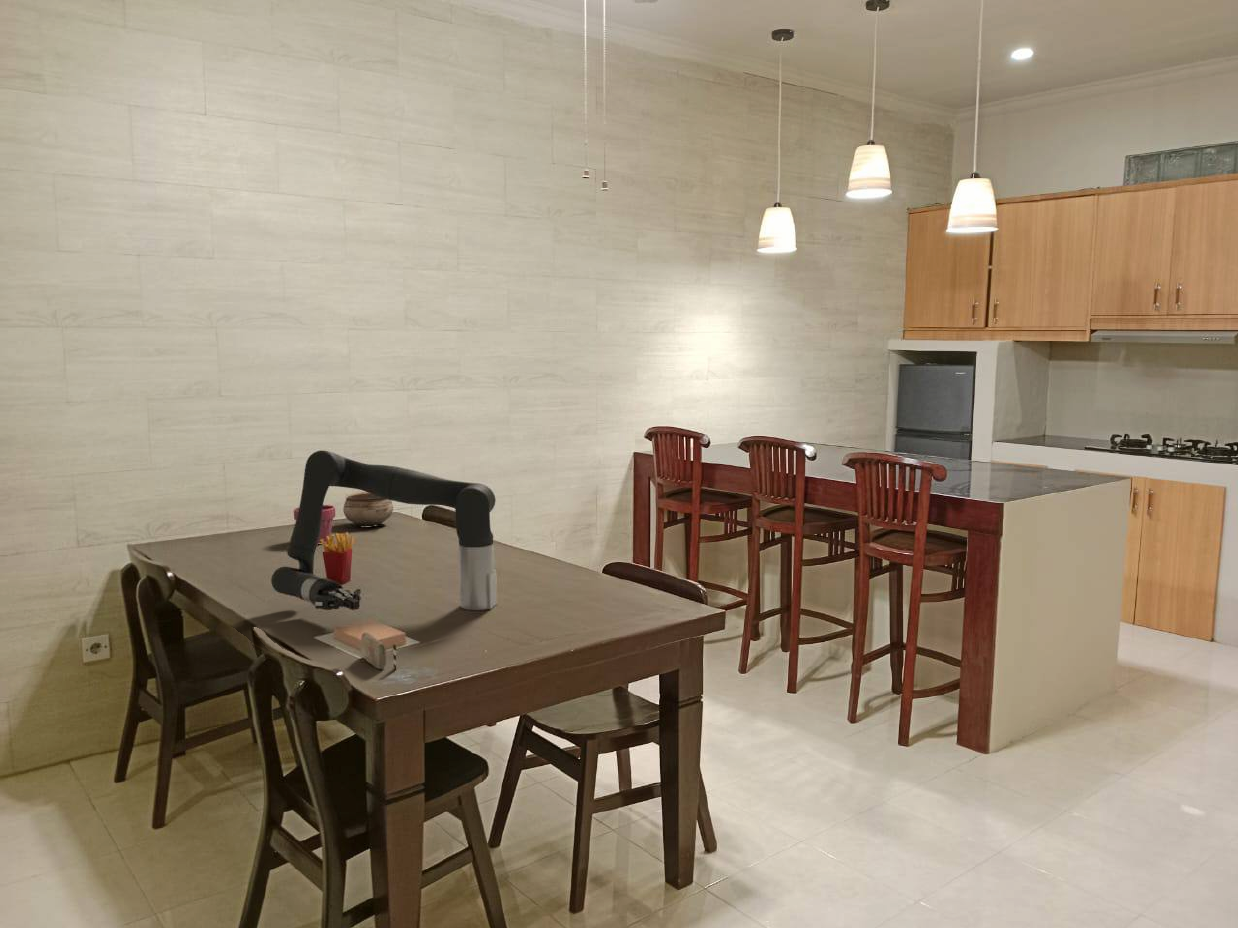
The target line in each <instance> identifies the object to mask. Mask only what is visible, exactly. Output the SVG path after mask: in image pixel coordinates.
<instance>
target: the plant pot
mask: <svg viewBox="0 0 1238 928" xmlns="http://www.w3.org/2000/svg"><path fill="white" fill-rule="evenodd" d="M298 511H299V506H298V507H295V508H294V509H293V518H294V520H295V521H296V519H297V515H298ZM335 517H336V506H334V505H332V504H331V505H330V504H329V505H328V504H323V508H322V524H321V532H320V537H319V541H318V543H321V541H320V539H323V540H324V541H325V542H327V539H326V536H329V538H330V539H331V536H332V535H331V534H332V528H333V520H334V519H335Z"/></svg>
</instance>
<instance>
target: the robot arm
mask: <svg viewBox="0 0 1238 928" xmlns="http://www.w3.org/2000/svg"><path fill="white" fill-rule="evenodd" d="M304 467H305V468H304V474H303V483H302V490H301V495H300V496H301V497H300V502H299V505H298V507H299V511H298V515H297V519H296V520H295V522H294V523H295V524H294V526H293V530H292V532H291V533H292V534H291V536H290V539H289V543H288V547H287V550H286V552H287V553H286V554H287V556H288V557H289V558H291V559H293V560H296V561H298V564H299V565H298V568H297V567H291V566H280V567H278V568H277V569H276V570H275V571H274V572H273V574H272V575H271V578H270V579H271V580H270V581H271V586H272V588H273V590H274V591H276V592H277V593H279V594H282V595H286V596H291V597H296V598H298V599H300V600H302V601H305V602H307V603H308V604H310V605H312V606H315V607H314V608H315V609H317V610H318V609H320V610H321V609H322V610H324V611H331V610H338V609H340V608H341V609H349V610H352V611H356V610H359V609H360V607H361V606H360V602H361V600H362V589H361V588H356V589H355V590H353V592H351V591H350V590H348V589H344V588H343V586H342V585H340V584H339V583H338V582H336V581H333V580H330V579H328V578H327V577H326V576H325V577H324V576H320V575H319V576H318V575H316V574H314V566H315V565H314V564H315V561H314V560H315V553H316V551H317V547H318V545H317V544H318V541H319V537H320V532H321V524H322V508H323V505H324V501H325V498H326V495H327V492H328V490H329V487H339V488H349V489H354V490H359V491H362V492H368V493H371V494H373V495H376V496H378V497H382V498H385V499H388V500H391V501H393V502H397V503H402V504H407V505H408V504H409V505H419V506H420V505H422V506H423V505H424V506H429V505H430V506H442V507H448V508H453V509H454V510H455V511H454V512H455V528H456V535H457V538H458V554H459V555H458V556H459V557H458V559H459V560H458V561H459V588H460V591H459V593H460V595H459V596H460V608H462V609H463V610H468V611H483V610H484V611H485V610H492V609H493V608H494V607H495V606H496V605H497V604H498V587H497V586H498V585H497V584H498V583H497V574H498V573H497V569H495V558H494V557H495V556H494V552H495V551H494V533H493V532H492V530H491V519H490V512H492V511H493V509H494V508H495V506H496V502H497V501H496V495H495V493H494V491H493V490H492V489H491V488H490V487H488V486H487V485H486V484H483V483H478V482H477V483H476V482H466V481H458V480H451V479H445V478H443V477H439V476H437V475H436V476H435V475H433V474H430V473H429V474H428V473H424V472H421V471H419V470H418V471H417V470H413V469H410V468H405V467H400V466H394V465H385V464H384V465H383V464H370V463H369V464H368V463H364V462H361V461H356V460H353V459H350V458H347V457H344V456H342V455H340V454H338V453H335V452H331V451H328V450H317V451H314V452H312V453H311V454H310V455H309V457H308V459H306V463H305V466H304Z"/></svg>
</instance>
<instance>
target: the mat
mask: <svg viewBox="0 0 1238 928" xmlns="http://www.w3.org/2000/svg"><path fill="white" fill-rule="evenodd" d="M313 638H314V639H316V640H318V641H320V642H322V643H325V644H327V645H328V646H329V645H330V646H331V647H333V648H336V649H338V650H340V651H342V652H345V653H346V654H349V655H351V656H353V657H356V658H358V659H364V658H363V657H362V655H361V652H360V649H358V648H355V647H353V646H351V645H349V644H346V643H344V642H342V641H340V640H337V639H335V638H334V632H331V633H327V634H322V635H318V636H313ZM419 643H421V642H420V641H418V640H416V639H413V638H410V637H408V636H406V643H405V644H401V645H397V646H396V650H398V649H401V648H405V647H409V646H412V645H416V644H419ZM385 650H386V652H390V651H391V652H392V651H393V647H390V648H386V649H385Z"/></svg>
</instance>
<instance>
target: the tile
mask: <svg viewBox="0 0 1238 928" xmlns="http://www.w3.org/2000/svg"><path fill="white" fill-rule="evenodd" d="M333 633H334V638H335V639H337V640H340V641H342V642H344V643H346V644H349V645H351V646H353V647H355V648H358V649H361V638H362V634H363V633H369V634H370V635H372V636H373V637H374V638H376V639H377V640H378V641H380V642H381V643H383V644H384V646H385V649H386V648H390V647H393V644H394V645H396V646H397V645H401V644H405V643H406V637H407V636H406V635H407V633H406V632H404V631H401V630H400V629H396V628H394V627H391V626H389V625H386V624H383V623H381V622H379V621H376V620H373V619H367V620H361V621H358V622H357V621H356V622H354V623H349V624H345V625H342V626H336V627H333Z"/></svg>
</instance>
